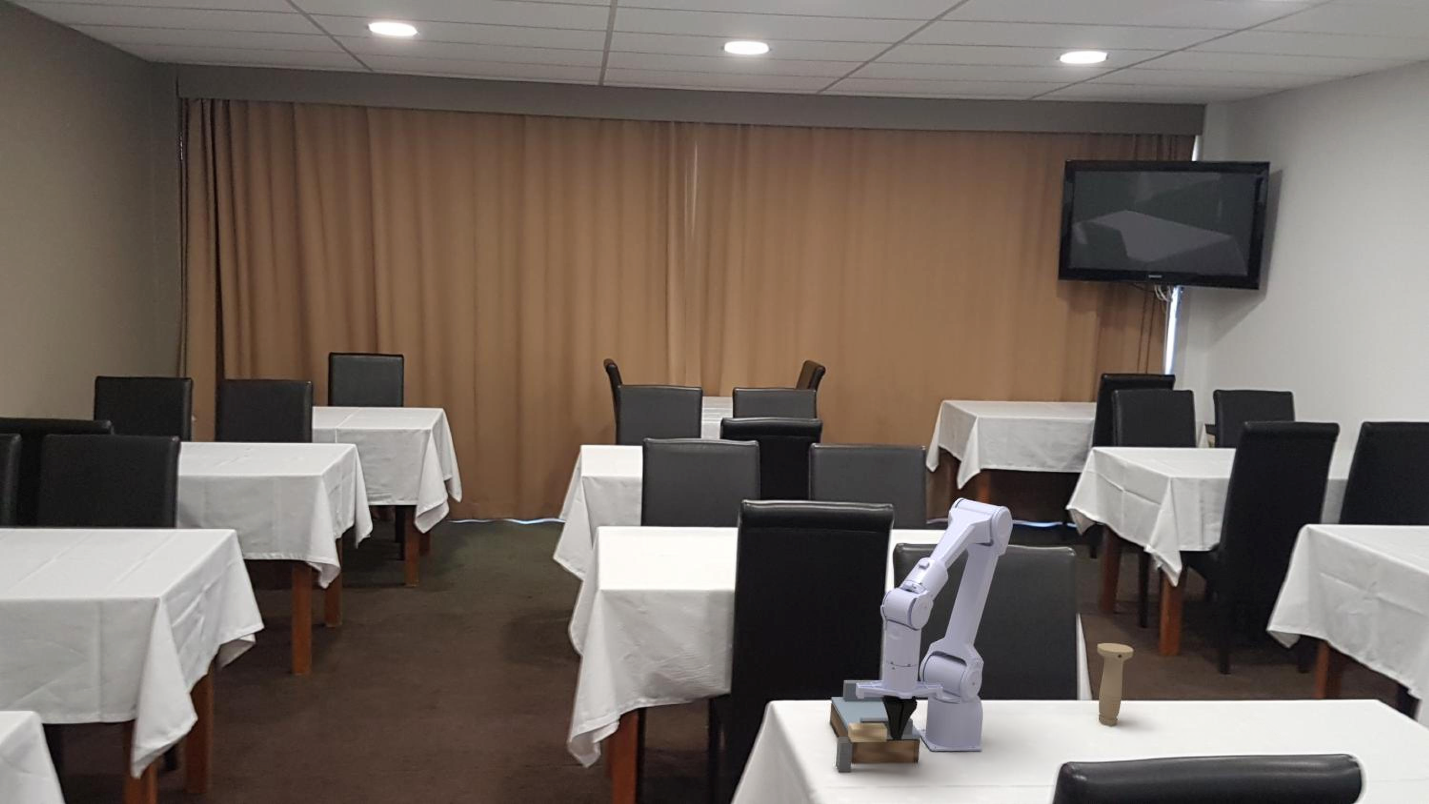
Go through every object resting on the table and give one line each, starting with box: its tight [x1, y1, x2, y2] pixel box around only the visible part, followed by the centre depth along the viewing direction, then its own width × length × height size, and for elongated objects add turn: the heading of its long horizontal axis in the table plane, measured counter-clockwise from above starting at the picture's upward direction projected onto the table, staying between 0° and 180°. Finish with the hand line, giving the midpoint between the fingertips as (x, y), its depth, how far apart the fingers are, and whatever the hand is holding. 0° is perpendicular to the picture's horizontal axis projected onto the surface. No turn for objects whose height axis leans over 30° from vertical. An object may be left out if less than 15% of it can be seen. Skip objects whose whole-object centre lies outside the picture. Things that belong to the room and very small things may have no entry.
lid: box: [830, 679, 921, 740], centre depth 193 cm, size 12×16×4 cm
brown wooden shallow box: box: [829, 702, 921, 764], centre depth 193 cm, size 12×16×4 cm
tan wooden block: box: [848, 723, 887, 742], centre depth 182 cm, size 6×2×2 cm, turn 97°
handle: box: [1096, 642, 1134, 727], centre depth 206 cm, size 5×6×15 cm
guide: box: [835, 737, 853, 774], centre depth 182 cm, size 2×2×5 cm
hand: (895, 737), depth 183 cm, fingers closed
